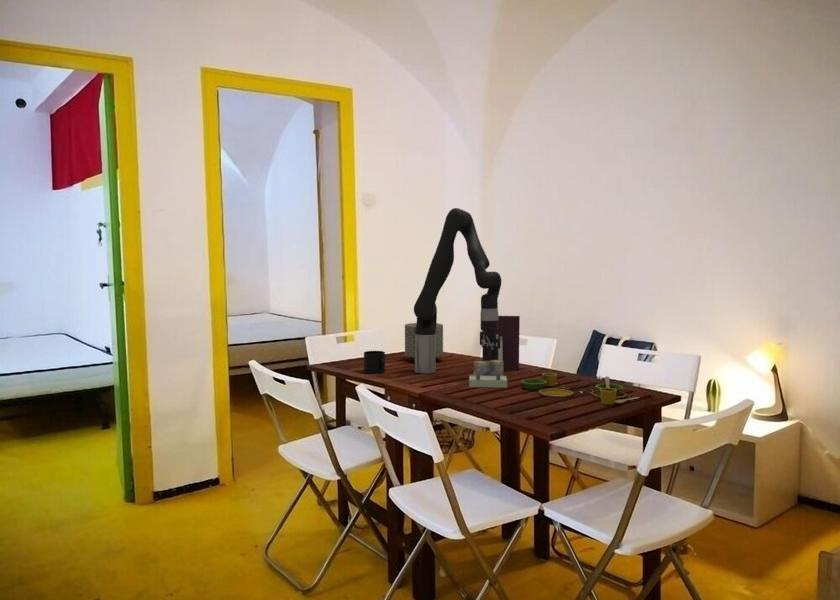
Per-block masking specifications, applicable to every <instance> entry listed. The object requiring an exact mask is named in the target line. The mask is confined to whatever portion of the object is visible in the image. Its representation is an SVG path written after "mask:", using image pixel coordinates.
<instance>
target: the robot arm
mask: <svg viewBox="0 0 840 600" xmlns="http://www.w3.org/2000/svg"><path fill="white" fill-rule="evenodd" d="M458 232H460V233H461V235H462V237H463V238H464V240H465V242H466V243H465V244H466V250H467V251H466V252H467V256H468V259H469V260H470V263H471V265H472V266H473V270H474V277H475V282H476V284H477V285H478V287H479V288H480V289H484V290H485V289H487V292H485V293H484V294H482V295H481V296H480V313H479V314H480V331H479V346H481V348H482V354H483V356H488V344H489V345H490V346H491V348H492V359H497V350H498V349H500V335H499V334H496V331H497V330H498V329H499V323H498V316H499V309H498V307H499V306H498V303H499V301H498V300H499V299H498V298H499V295H500V292H501V291H500V290H501V287H502V277H501V274H500V273H499V272H497V271H487V269H488V268H489V267H490V260H489V258H488V256H487V254H486V252H485V250H484V248H483V246H482V244H481V241H480V238H479V235H478V232H477V228H476V226H475V222H474V219H473V217H472V214H471V213H470V212H468V211H466V210H463V209H461V208H459V207H454V208H453V207H452V208H451V209H450V210H449V211H448V213H447V215H446V217H445V220H444V224H443V228H442V231H441V235H440V239H439V241H438V243H437V246H436V249H435V252H434V254H433V256H432V260H431V262H430V265H429V267H428V271H427V274H426V278H425V281H424V283H423V287H422V289H421V292H420V294H419V295H418V297H417V299H416V302H415V303H414V306H413V313H414V315H415V317H416V323H417V324H416V328H415V361H414V373H416V374H417V373H418V374H432V373H433V374H435V373H436V370H437V369H436V366H437V365H436V360H437V359H436V325H437V323H438V322H437V319H438V317H437V316H438V309H437V307H438V306H437V303H436V300H437V298H438V296H439V293H440V291H441V289H442V287H443V286H444V284H445V282H446V280H447V279H448V277H449V275H450V273H451V270H452V267H453V265H454V261H455V250H454V249H455V248H454V245H455V240H456V237H457V234H458ZM497 344H498V346H497ZM493 345H494V347H493Z"/></svg>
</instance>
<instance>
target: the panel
mask: <svg viewBox="0 0 840 600" xmlns="http://www.w3.org/2000/svg"><path fill="white" fill-rule="evenodd" d="M476 366H480V376H496V366H499V367H500V376H504V371H505V370H504V361H501V360H490V361H482V360H478V361H477V360H476V361H473V376H476Z"/></svg>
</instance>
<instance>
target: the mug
mask: <svg viewBox="0 0 840 600" xmlns="http://www.w3.org/2000/svg"><path fill="white" fill-rule="evenodd" d="M363 372H364V373H365V374H369V375H378V374H383V373H385V372H386V352H385V351H382V350H369V351H364V352H363Z"/></svg>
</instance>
